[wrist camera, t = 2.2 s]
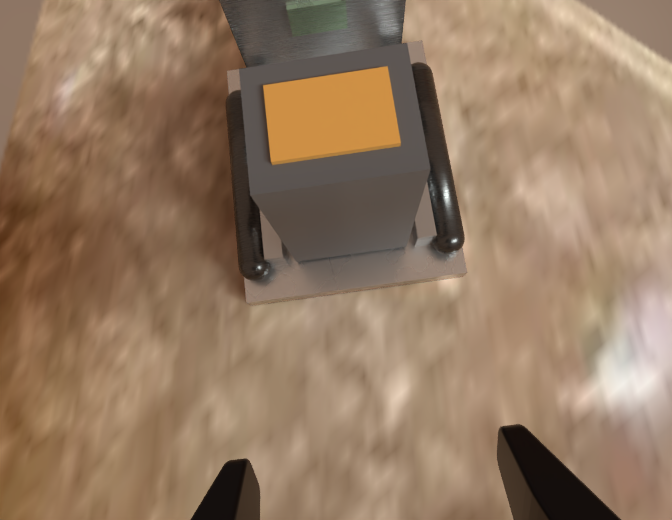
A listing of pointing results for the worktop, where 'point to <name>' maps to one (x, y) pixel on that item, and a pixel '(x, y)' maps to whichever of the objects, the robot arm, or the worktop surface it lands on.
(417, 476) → the worktop surface
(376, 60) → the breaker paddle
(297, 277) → the grey handled base plate
